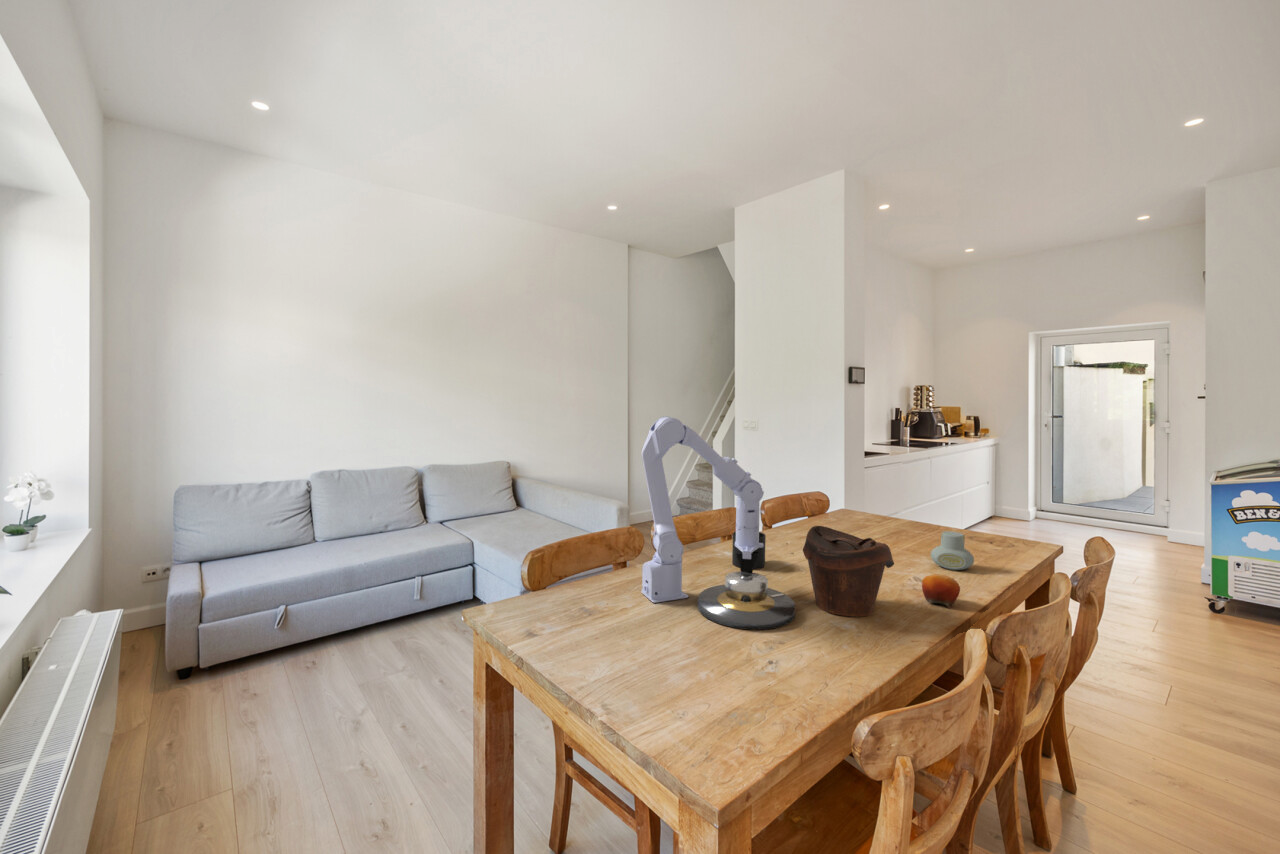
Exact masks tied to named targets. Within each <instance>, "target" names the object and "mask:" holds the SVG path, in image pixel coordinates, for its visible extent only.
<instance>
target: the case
mask: <svg viewBox="0 0 1280 854" xmlns="http://www.w3.org/2000/svg"><path fill="white" fill-rule="evenodd" d="M802 552H803V556H804V557H805V560H807V562H808V568H809V569H808V570H809V573H810V577H811V578H810V579H811V585H812V589H813V595H814V601H815V604H816V606H818V607H819V608H820V609H821V610H823V611H825V612H827V613H829V614H832V615H837V616H842V617H851V618H852V617H854V618H855V617H856V618H857V617H858V618H860V617H862V618H863V617H867V616H870V615H872V614H873V613H874V611H875V605H876V602H877V597H878V595H879V594H878V593H879V591H880V587H881V583H882V578H883V575H884V571H885V567H886V568H888V569H889V568H892V567H893V566H894V565H895V562H894V558H893V556H892V551H891V548H890V547H889V545H888V544H886V543H884V542H883V543H882V542H879V541H876V540H874V539H873V538H872V537H867V538H864V539H863V538H861V537H858V536H855V535H853V534H849V533H846V532H843V531H840V530H837V529H834V528H831V527H827V526H823V525H814V526H811V528H809V530H808V531H807V533H806V538H805V542H804V546H803V548H802Z"/></svg>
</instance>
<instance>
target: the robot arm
mask: <svg viewBox="0 0 1280 854" xmlns="http://www.w3.org/2000/svg"><path fill="white" fill-rule="evenodd" d="M677 444H679V445H682V446H686V447H689V448H691V449H692V451H695V453H697V454H698V455H699V456H700V457H701V458H703V459H704V460H705V461H706V462H708V464H710V465H711V466H712V474H713V475H714V476H715V477H716V478H717V479H718V480H719V481H721V482H722V483H723V484H724V485H726V487H728V488H729V490H731V491H733V494H734V495H735V496H737V497H736V507H735V508H736V509H735V511H736V512H735V513H736V514H735V532H736V542H735V546H736V547H737V548H738V549H736V553H735V554H736V557H737V559H738V561H739V565H740V567H739V569H740V572H752V573H754V569H753V567H754V564H755V562H756V560H757V558H758V550H757V549H758V548H763V547H764V544H763V543H759V532H760V501H761V500H762V499H763V497H764V492H765V491H764V490H763V488H762V485H761V483H760V482H759V481H758V480H755V479H753V478H752V477H751V476H752V474H751V473H750V472H749V471H745V470H744V469H743V468H742V467H741V466H740V465H739V464H737V463H738V460H737V459H736V458H734V457H732V458H731V457H730V456H721V455H720V454H719V452H717V451H716V450H715V449H714V448H713V447H712V446H711V445H710V444H709V443H708V442H706V441H705V440H704V439H703V437H702V436H700V435H699V434H698V433H697V432H696V431H695V430H693V429H692V428H691V427H690V426H687V425H686V424H683V422H682V421H681V420H680V419H679V418H675V417H670V416H666V415H665V416H661V417H660V418H658V419H656V421H654V423H652V425H651V426H650V428H649V431H648V435H647V437H646V439H645V441H644V443H643V447H642V450H641V454H640V455H641V460H642V464H643V469H644V470H643V471H644V476H645V482H646V486H647V492H648V496H649V503H650V507H651V508H650V509H651V514H652V518H653V529H654V535H653V538H652V545H653V547H654V549H655V550H656V551H655V552H654V554H653V556H652V559H651V560H648V561H645V562H644V563H643V565H642V573H641V574H642V577H641V581H642V582H641V583H642V584H641V585H642V586H641V587H642V588H641V590H640V592H641V593H642V594H643V595H644V596H645V598H647V599H649V600H650V601H651V602H652V603H653V604H654V603H663V602H668V601H675V600H683V599H687V598H689V595H688V594H687V593H686V592H684V591H683V589H682V588H683V587H682V586H683V554H684V551H685V550H684V545H683V543H682V542H681V540H680V539H679V537H678V534H677V529H676V525H675V523H674V518H673V513H672V508H671V502H670V497H669V492H668V486H667V479H666V475H665V470H664V469H665V468H664V463H663V458H664V456H665V455H666V454H667V452H668V451H669V450H670V449H671V448H672V447H674V446H676V445H677Z"/></svg>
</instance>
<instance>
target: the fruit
mask: <svg viewBox="0 0 1280 854" xmlns="http://www.w3.org/2000/svg"><path fill="white" fill-rule="evenodd" d="M921 582H922V583H921V590H922V593H923V596H924V598H925V601H928V602H929V603H930V605H931V604H942V605H944V606H946V607H947V608H948V609H950V607H949V606H950V605H952V604H954V603H955V601H957V599H958V597H959V595H960V591H961V586H960V585H959V582H957V580H955V579H954V578H953V577H951V576H949V575H946V574H945V575H944V574H941V573H933V574H930V575H925V577H923V579H922V580H921Z"/></svg>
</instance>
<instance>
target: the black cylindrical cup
mask: <svg viewBox="0 0 1280 854" xmlns="http://www.w3.org/2000/svg"><path fill="white" fill-rule="evenodd" d="M766 538H767V537H766V534H765V533H763V532H760V531H759V543H763V544H764V547H763V548H758V549H757V550H758V558H757V560H756V562H755V564H754V567H753V570H757V569H758V570H759V569H762V568H763V567H765V565H766V540H767V539H766ZM735 542H736V531H734V532H733V533H732V552H731V553H732V558H731V559H732V561H731V562H732V564H733V566H734V567H737V568H740V565H739V561H738V559H737V557H736V554H735V553H736V549H738V548H737V547H736V546H735Z"/></svg>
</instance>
